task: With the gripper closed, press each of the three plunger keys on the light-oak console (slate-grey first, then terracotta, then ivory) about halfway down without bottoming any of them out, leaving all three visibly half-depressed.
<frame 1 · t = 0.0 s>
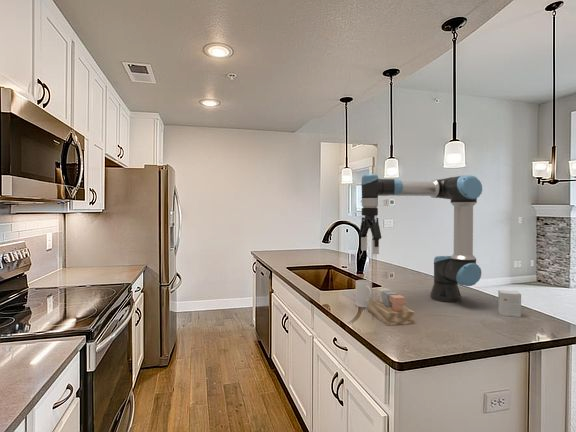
hand: (369, 252, 167), 28 cm above the worktop, fingers open, 13 cm apart
small box: (509, 315, 161), on the worktop
slate key: (390, 300, 158), point 8 cm above the worktop, slide at 0.0 cm
ivory key: (383, 296, 164), point 7 cm above the worktop, slide at 0.0 cm
console: (390, 317, 158), on the worktop
terracotta key: (397, 304, 151), point 8 cm above the worktop, slide at 0.0 cm
mug: (364, 306, 176), on the worktop
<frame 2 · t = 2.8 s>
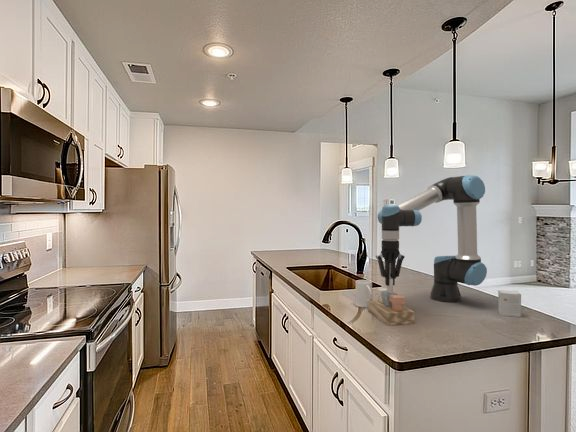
hand: (389, 292, 157), 11 cm above the worktop, fingers closed
slate key: (390, 300, 158), point 7 cm above the worktop, slide at 0.2 cm, touching gripper
everything else where it was.
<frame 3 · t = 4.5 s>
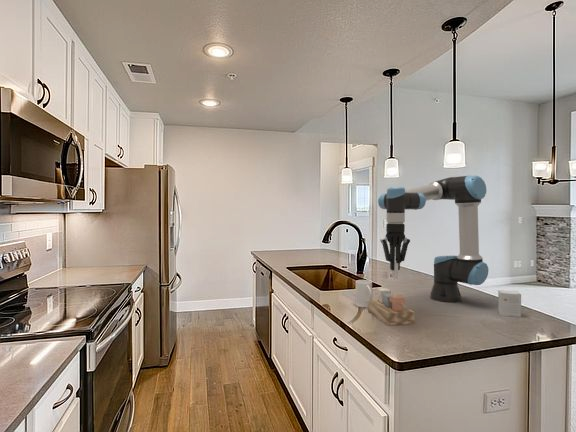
hand: (394, 277, 152), 19 cm above the worktop, fingers closed
slate key: (390, 303, 158), point 6 cm above the worktop, slide at 1.2 cm
everything else where it was.
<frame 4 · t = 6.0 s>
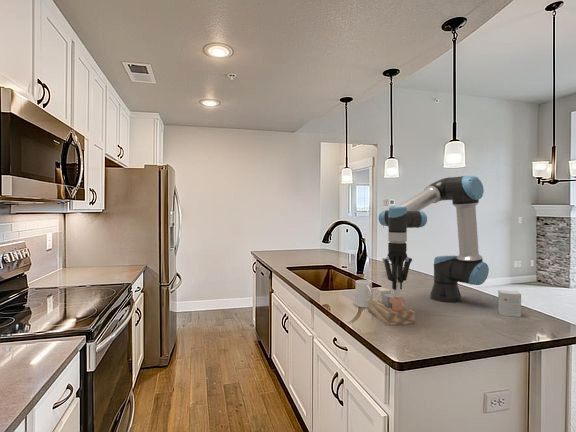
hand: (396, 297, 151), 11 cm above the worktop, fingers closed
terracotta key: (397, 305, 151), point 7 cm above the worktop, slide at 0.5 cm, touching gripper
everything else where it was.
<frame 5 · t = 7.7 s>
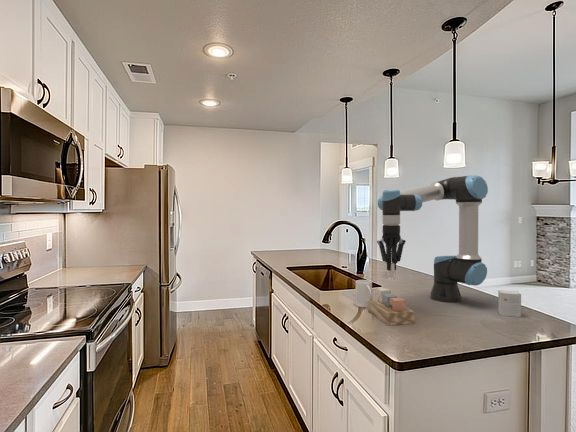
hand: (391, 277, 157), 18 cm above the worktop, fingers closed
terracotta key: (397, 307, 151), point 6 cm above the worktop, slide at 1.2 cm
everything else where it was.
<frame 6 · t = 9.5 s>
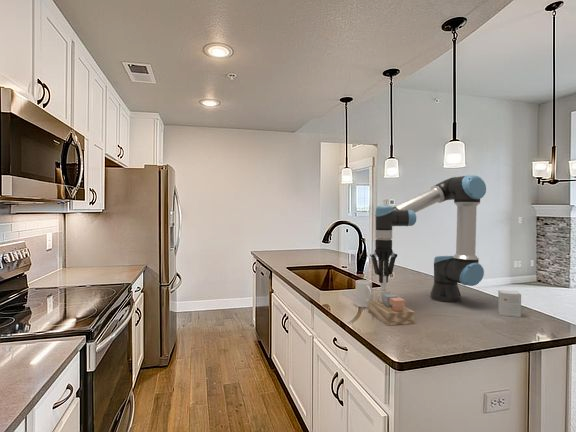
hand: (383, 289, 164), 11 cm above the worktop, fingers closed
ivory key: (383, 297, 164), point 7 cm above the worktop, slide at 0.4 cm, touching gripper
everything else where it was.
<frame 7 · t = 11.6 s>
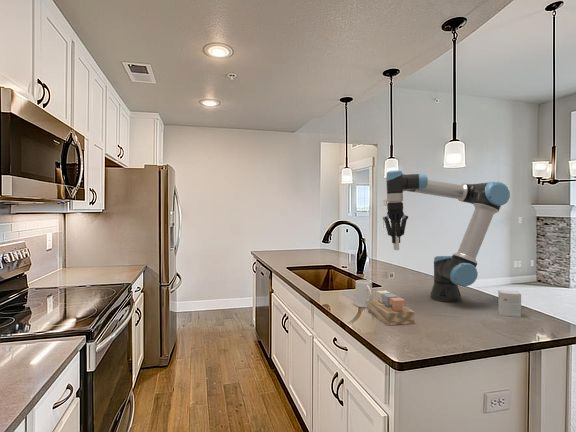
hand: (396, 249, 174), 28 cm above the worktop, fingers closed
ivory key: (383, 299, 164), point 6 cm above the worktop, slide at 1.2 cm
everything else where it was.
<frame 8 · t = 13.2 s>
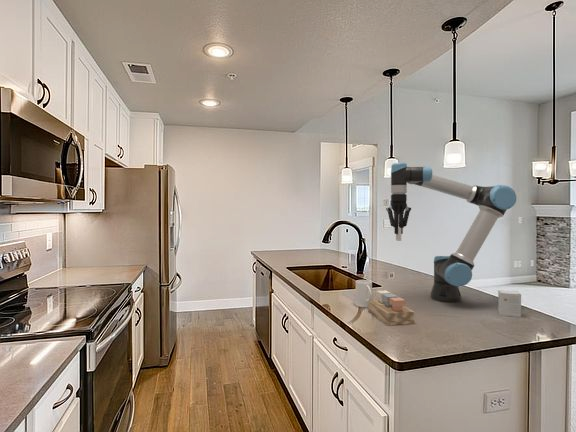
hand: (398, 240, 178), 32 cm above the worktop, fingers closed
nothing on the worktop moved.
at the end: slate key slide at 1.2 cm; terracotta key slide at 1.2 cm; ivory key slide at 1.2 cm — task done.
